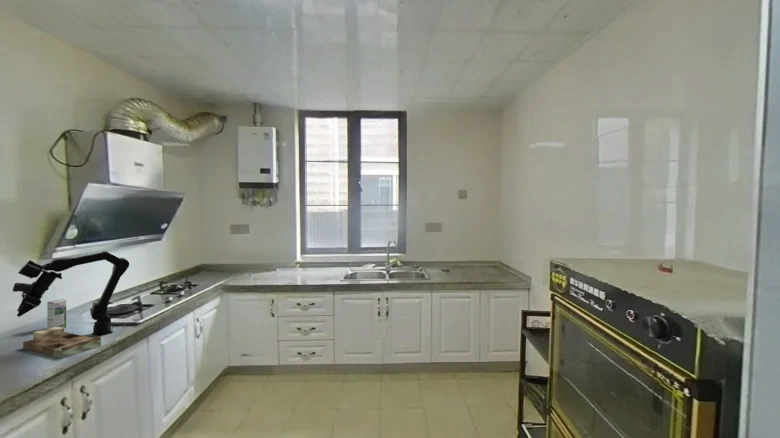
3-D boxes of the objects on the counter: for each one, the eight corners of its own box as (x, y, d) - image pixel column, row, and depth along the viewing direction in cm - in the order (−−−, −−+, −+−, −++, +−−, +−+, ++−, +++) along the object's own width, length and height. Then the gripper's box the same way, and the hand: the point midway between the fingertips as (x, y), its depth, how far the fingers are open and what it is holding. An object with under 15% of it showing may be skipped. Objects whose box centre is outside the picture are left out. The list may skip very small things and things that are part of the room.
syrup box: (53, 330, 198) (54, 302, 198) (46, 328, 200) (47, 300, 200) (66, 327, 204) (66, 299, 203) (59, 325, 206) (60, 298, 205)
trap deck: (62, 337, 189) (63, 328, 189) (100, 345, 181) (100, 336, 180) (23, 348, 174) (23, 338, 173) (62, 358, 165) (62, 347, 165)
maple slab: (56, 333, 185) (56, 326, 185) (63, 335, 184) (64, 328, 184) (33, 339, 176) (33, 332, 176) (40, 341, 175) (40, 333, 175)
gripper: (23, 272, 182) (-3, 302, 177) (23, 278, 169) (-5, 311, 164) (49, 282, 189) (25, 311, 184) (51, 289, 176) (26, 321, 170)
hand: (18, 313), depth 175 cm, fingers open, 9 cm apart
